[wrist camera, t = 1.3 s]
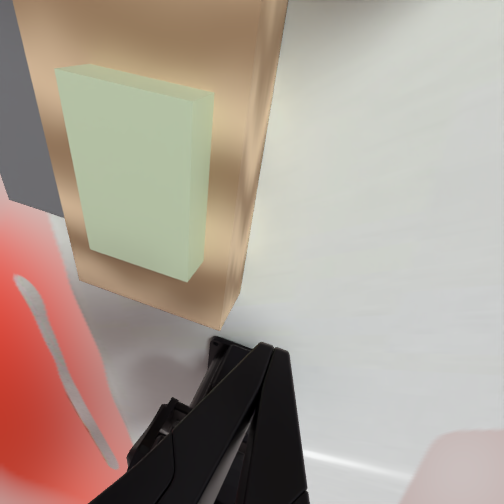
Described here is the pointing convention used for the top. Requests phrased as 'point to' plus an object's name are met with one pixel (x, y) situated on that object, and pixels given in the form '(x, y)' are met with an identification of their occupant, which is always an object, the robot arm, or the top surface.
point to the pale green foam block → (140, 165)
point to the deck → (179, 72)
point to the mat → (22, 125)
